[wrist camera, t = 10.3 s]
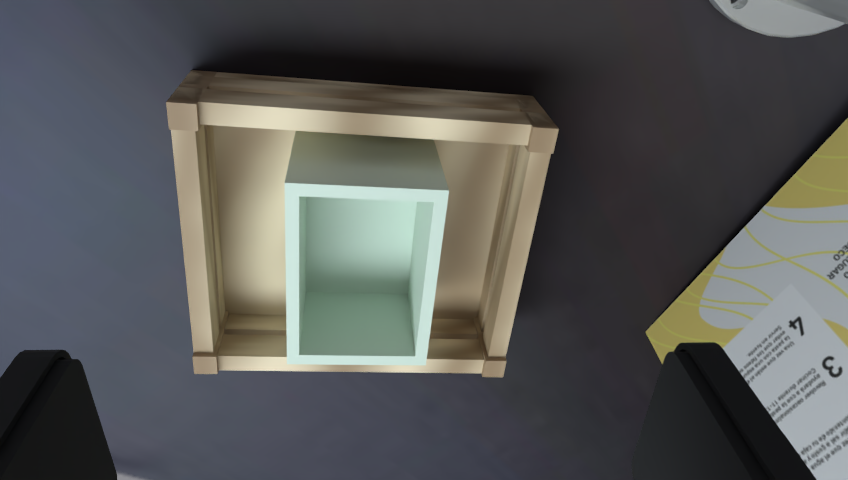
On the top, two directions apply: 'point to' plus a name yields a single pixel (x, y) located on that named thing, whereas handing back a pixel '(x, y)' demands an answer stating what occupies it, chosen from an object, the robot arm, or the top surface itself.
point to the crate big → (265, 208)
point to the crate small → (362, 248)
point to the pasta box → (784, 308)
